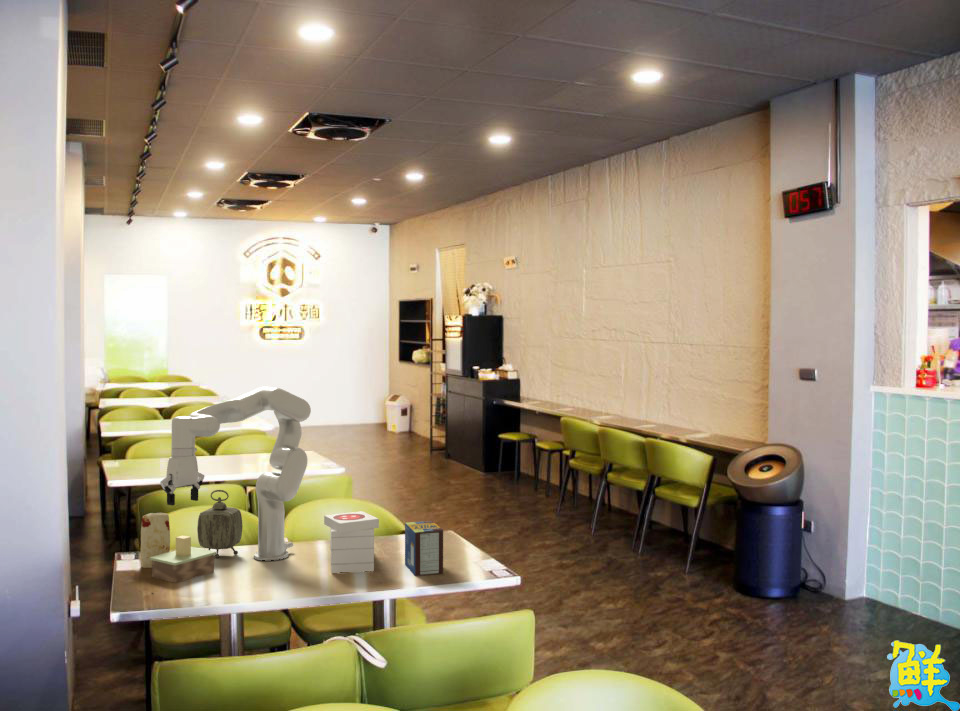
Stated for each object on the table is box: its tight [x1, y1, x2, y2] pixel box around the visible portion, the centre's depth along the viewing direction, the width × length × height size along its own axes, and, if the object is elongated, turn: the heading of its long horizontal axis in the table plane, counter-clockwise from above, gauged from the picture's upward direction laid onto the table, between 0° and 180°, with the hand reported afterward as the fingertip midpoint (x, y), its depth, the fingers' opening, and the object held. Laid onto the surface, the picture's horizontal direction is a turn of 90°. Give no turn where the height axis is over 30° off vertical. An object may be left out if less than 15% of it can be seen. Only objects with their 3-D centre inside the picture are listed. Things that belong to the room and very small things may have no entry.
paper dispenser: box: [323, 510, 380, 574], centre depth 301 cm, size 19×30×18 cm, turn 11°
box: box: [151, 555, 215, 584], centre depth 282 cm, size 16×12×7 cm
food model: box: [140, 512, 171, 569], centre depth 292 cm, size 10×7×20 cm
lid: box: [150, 535, 217, 565], centre depth 282 cm, size 17×13×8 cm
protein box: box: [404, 520, 444, 577], centre depth 294 cm, size 10×15×16 cm
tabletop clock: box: [196, 489, 243, 559], centre depth 308 cm, size 14×9×25 cm, turn 84°
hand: (182, 502), depth 281 cm, fingers open, 9 cm apart
